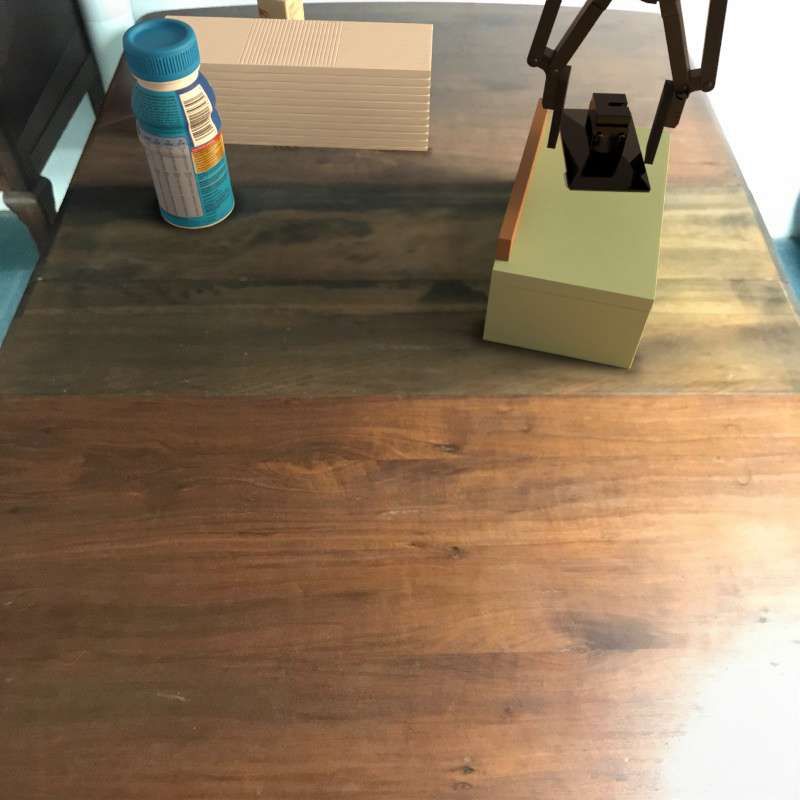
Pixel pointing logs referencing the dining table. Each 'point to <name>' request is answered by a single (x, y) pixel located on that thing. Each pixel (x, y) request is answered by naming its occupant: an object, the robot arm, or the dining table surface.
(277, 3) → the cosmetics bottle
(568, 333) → the olive green box
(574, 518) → the dining table surface
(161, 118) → the beverage bottle
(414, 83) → the beige ridged block
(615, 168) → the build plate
